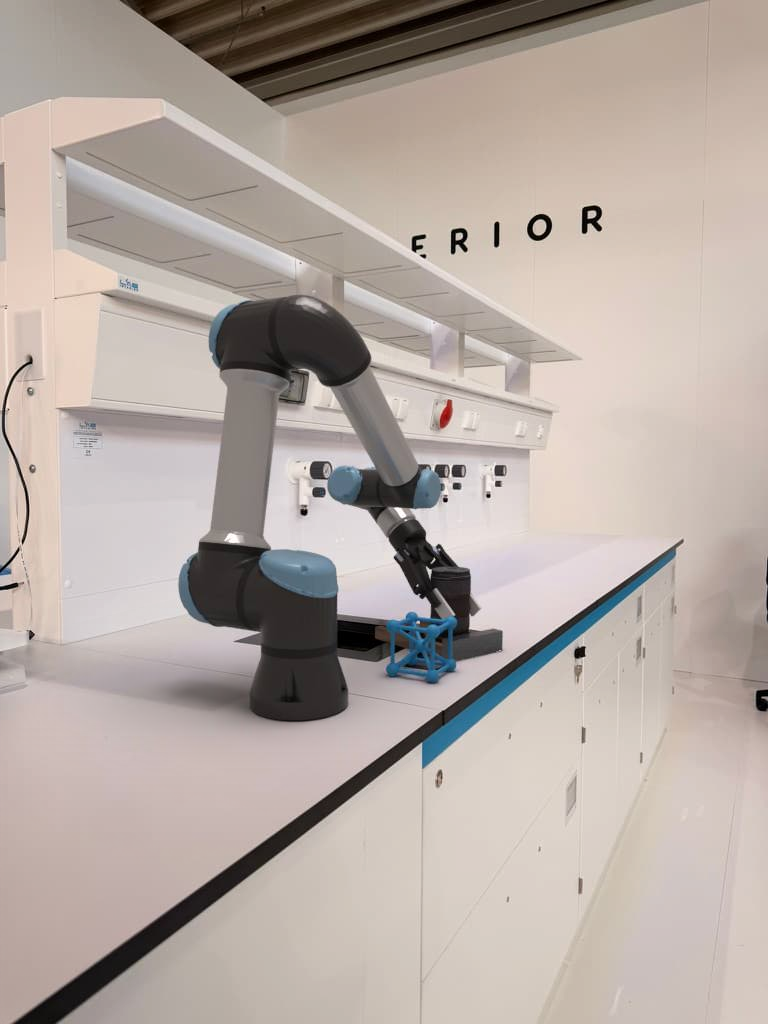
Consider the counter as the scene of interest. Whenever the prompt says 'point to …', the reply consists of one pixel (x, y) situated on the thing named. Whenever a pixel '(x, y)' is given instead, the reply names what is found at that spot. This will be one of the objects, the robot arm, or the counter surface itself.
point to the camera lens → (453, 597)
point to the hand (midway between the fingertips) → (463, 615)
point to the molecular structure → (421, 646)
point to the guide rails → (402, 641)
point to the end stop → (473, 644)
